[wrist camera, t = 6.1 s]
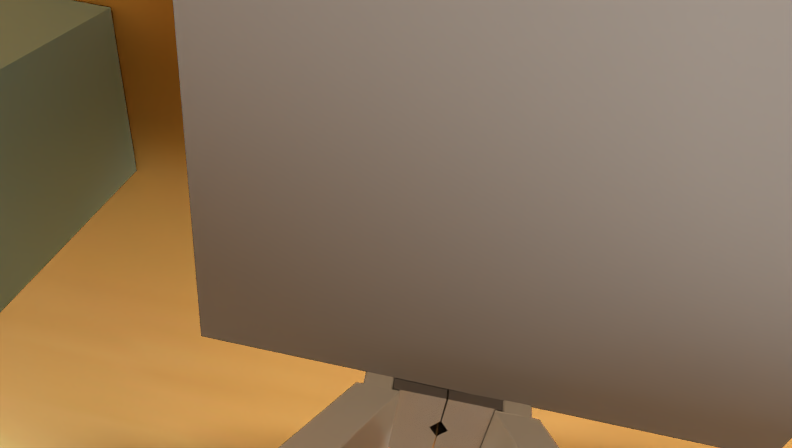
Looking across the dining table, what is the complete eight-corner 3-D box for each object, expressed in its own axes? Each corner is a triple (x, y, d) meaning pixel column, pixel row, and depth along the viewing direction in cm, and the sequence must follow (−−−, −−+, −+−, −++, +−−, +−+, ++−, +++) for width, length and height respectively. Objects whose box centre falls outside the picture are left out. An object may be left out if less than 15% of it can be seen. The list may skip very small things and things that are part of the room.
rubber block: (695, 267, 14) (771, 458, 10) (285, 183, 14) (201, 335, 10) (927, -113, 9) (1252, -35, 5) (300, -229, 9) (151, -239, 5)
